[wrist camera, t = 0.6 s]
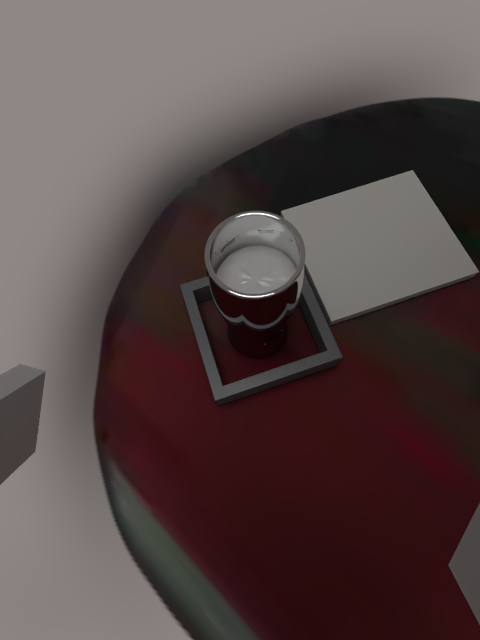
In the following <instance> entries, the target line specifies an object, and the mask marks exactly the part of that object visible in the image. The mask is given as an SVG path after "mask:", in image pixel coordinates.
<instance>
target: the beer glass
mask: <svg viewBox="0 0 480 640" xmlns="http://www.w3.org/2000/svg"><path fill="white" fill-rule="evenodd" d="M304 263H305V245H304V242H303V239H302V237H301V235H300V233H299V232H298V230H297V229H296V228H295V227H294V226H293V225H292V224H291V223H290V222H289V221H287V220H286V219H284V218H283V217H281V216H278V215H276V214H273V213H270V212H265V211H247V212H242V213H239V214H236V215H233V216H231V217H229V218H227V219H226V220H224V221H223V222H222V223H220V224H219V225H218V226H217V227H216V228H215V229H214V231H213V232H212V233H211V235H210V237H209V239H208V241H207V244H206V247H205V264H206V268H207V277H208V284H209V288H210V292H211V296H212V298H213V301H214V304H215V306H216V308H217V310H218V311H219V313H220V315H221V316H222V318H223V319H224V320H225V321H226V322H227V324H228V336H229V340H230V342H231V344H232V345H233V347H234V348H235V349H236V350H237V351H238V352H239V353H241V354H243V355H245V356H247V357H250V358H265V357H268V356H271V355H273V354H274V353H276V352H277V351H278V350H279V349H280V348H281V347H282V346H283V344H284V343H285V341H286V338H287V332H288V326H287V321H288V320H289V318H290V317H291V316H292V314H293V312H294V310H295V308H296V307H297V304H298V302H299V298H300V295H301V292H302V286H303V279H304Z"/></svg>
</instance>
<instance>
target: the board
mask: <svg viewBox="0 0 480 640" xmlns="http://www.w3.org/2000/svg"><path fill="white" fill-rule="evenodd" d="M281 217H283V218H284V219H286V220H287V221H289V222H290V223H291V224H292V225H293V226H294V227H295V228H296V229H297V230H298V232H299V233H300V235H301V237H302V239H303V242H304V245H305V263H304V271H305V273H306V275H307V277H308V279H309V282H310V284H311V286H312V288H313V290H314V293H315V295H316V297H317V299H318V302H319V304H320V306H321V308H322V310H323V313H324V315H325V317H326V319H327V321H328V324H329V326H330V325H333V324H336V323H339V322H342V321H345V320H348V319H351V318H354V317H357V316H360V315H363V314H366V313H369V312H372V311H375V310H378V309H381V308H384V307H387V306H390V305H393V304H396V303H399V302H402V301H405V300H408V299H410V298H413V297H416V296H419V295H422V294H425V293H428V292H431V291H434V290H437V289H440V288H443V287H446V286H449V285H452V284H455V283H458V282H461V281H464V280H467V279H470V278H473V277H474V276H475V275H476V274H477V273H479V271H478V269H477V268H476V266H475V265H474V263H473V262H472V260H471V259H470V257H469V256H468V254H467V252H466V251H465V249H464V248H463V246H462V245H461V243H460V242H459V240H458V239H457V237H456V236H455V234H454V233H453V231H452V230H451V228H450V227H449V225H448V223H447V222H446V220H445V219H444V217H443V216H442V214H441V213H440V211H439V210H438V208H437V207H436V205H435V204H434V202H433V201H432V199H431V197H430V196H429V194H428V193H427V191H426V190H425V188H424V187H423V185H422V184H421V182H420V181H419V179H418V178H417V176H416V175H415V173H414V171H413V170H411V171H408V172H405V173H402V174H399V175H396V176H392V177H389V178H386V179H383V180H380V181H376V182H373V183H370V184H367V185H364V186H360V187H357V188H354V189H351V190H348V191H344V192H341V193H338V194H335V195H332V196H328V197H325V198H322V199H319V200H316V201H312V202H309V203H306V204H303V205H300V206H296V207H293V208H290V209H287V210H284V211H281Z"/></svg>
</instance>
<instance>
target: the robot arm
mask: <svg viewBox="0 0 480 640" xmlns="http://www.w3.org/2000/svg"><path fill="white" fill-rule="evenodd" d="M44 379H45V371H43V370H40V369H36V368H32V367H29V366H25V365H21V364H20V365H18V366H16V367H14V368H13V369H11V370H9V371H7V372H5V373H4V374H1V375H0V484H1V483H3V482H4V481H5V480H6V479H7V478H8V477H9V476H10V475H11V474H12V473H13V472H14V471H15V470H16V469H17V468H18V467H19V466H20V465H21V464H22V463H23V462H25V461H26V460H27V459H28V458H29V457H30V456H31V455H32V454H33V453H34V452H35V448H36V441H37V434H38V426H39V418H40V410H41V403H42V395H43V387H44ZM448 566H449V568H450V569H451V571H452V573H453V575H454V577H455V579H456V581H457V583H458V585H459V586H460V588H461V590H462V592H463V594H464V596H465V598H466V600H467V602H468V604H469V605H470V607H471V609H472V611H473V613H474V615H475V617H476V619H477V621H478V622H479V624H480V503H479V505H478V507H477V509H476V511H475V513H474V515H473V517H472V519H471V521H470V523H469V525H468V527H467V529H466V531H465V533H464V535H463V537H462V539H461V541H460V543H459V545H458V547H457V549H456V551H455V553H454V555H453V557H452V559H451V561H450V563H449V565H448Z"/></svg>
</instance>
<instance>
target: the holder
mask: <svg viewBox="0 0 480 640" xmlns="http://www.w3.org/2000/svg"><path fill="white" fill-rule="evenodd" d="M180 286H181V289H182V293H183V296H184V299H185V303H186V306H187V309H188V313H189V316H190V319H191V323H192V326H193V329H194V332H195V336H196V339H197V342H198V346H199V349H200V352H201V356H202V359H203V362H204V365H205V369H206V372H207V375H208V379H209V382H210V385H211V389H212V392H213V395H214V398H215V401H216V402H217V404H218V405H219V406H220V405H222V404H225V403H228V402H231V401H234V400H237V399H240V398H243V397H246V396H249V395H252V394H254V393H257V392H260V391H263V390H266V389H269V388H272V387H275V386H278V385H281V384H284V383H286V382H289V381H292V380H295V379H298V378H301V377H304V376H307V375H310V374H313V373H315V372H318V371H321V370H324V369H327V368H330V367H333V366H336V365H337V364H338V362H339V361H340V360H341V358H342V355H341V353H340V351H339V348H338V346H337V344H336V342H335V339H334V337H333V335H332V333H331V331H330V328H329V326H328V324H327V322H326V319H325V317H324V315H323V313H322V311H321V308H320V306H319V304H318V302H317V300H316V297H315V295H314V293H313V291H312V288H311V286H310V284H309V282H308V280H307V277H306V275H305V273H304V279H303V286H302V292H301V295H300V298H299V302H298V303H299V305H300V308H301V310H302V312H303V315H304V317H305V319H306V322H307V324H308V326H309V329H310V331H311V333H312V335H313V338H314V340H315V342H316V345H317V347H318V349H319V352H320V353H319V354H316V355H313V356H310V357H307V358H304V359H301V360H298V361H295V362H292V363H289V364H287V365H284V366H281V367H278V368H275V369H272V370H269V371H266V372H263V373H260V374H257V375H254V376H251V377H248V378H245V379H242V380H240V381H237V382H234V383H231V384H228V385H225V386H224V385H223V382H222V379H221V376H220V373H219V369H218V366H217V363H216V360H215V357H214V354H213V350H212V347H211V344H210V341H209V338H208V335H207V331H206V328H205V325H204V322H203V319H202V316H201V312H200V309H199V306H198V303H199V302H202V301H205V300H208V299H211V298H212V296H211V292H210V288H209V284H208V277H204V278H201V279H198V280H195V281H191V282H188V283H185V284H182V285H180Z"/></svg>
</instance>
